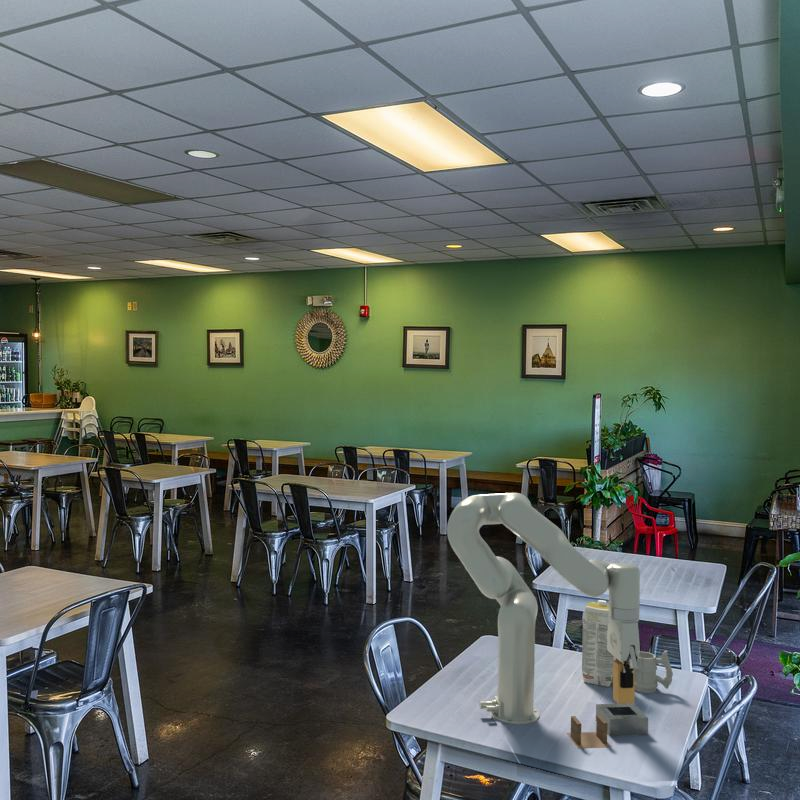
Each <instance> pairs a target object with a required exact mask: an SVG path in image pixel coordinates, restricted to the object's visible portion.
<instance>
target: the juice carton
mask: <svg viewBox="0 0 800 800" xmlns="http://www.w3.org/2000/svg"><path fill="white" fill-rule="evenodd" d="M608 621H609V604H607V601H606V600H602V599H599V600H597V602H594V601H590V602H589V603H587V604H586V605H584V611H583V616H582V647H581V648H582V650H581V652H582V653H581V671H582V679H583V682H584V683H587V684H592V685H597V686H601V687H606V688H609V687H610V686H611V685H613V660H614V657H613V655H612V654H611V653H609V652H608V650H607V630H608Z"/></svg>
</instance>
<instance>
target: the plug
mask: <svg viewBox="0 0 800 800" xmlns="http://www.w3.org/2000/svg"><path fill="white" fill-rule="evenodd" d="M627 664H629V663H625V665H627ZM620 672H622V662H620V661H619V660H613V683H612V688H613V689H612V690H613V691H612V699H613V701H615V703H616V704H626V703H633V704H635V698H636V695H635V692H636V691H635V669H634V673H633V688H621V687H620Z"/></svg>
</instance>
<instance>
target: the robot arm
mask: <svg viewBox="0 0 800 800" xmlns="http://www.w3.org/2000/svg"><path fill="white" fill-rule="evenodd" d="M501 524H502V525H503V526H504V527H505V528H507V529H508V530H509V531H511V532H512V533H513V534H514V535H516V536H517V537H518V538H519V539H520V540H522V541H523V542H524V543H526V544H527V545H528V546H529V547H530V548H532V549H533V550H534V551H536V552H537V553H538V555H540V556H541V558H542V559H543V560H544V561H545V562H546V563H548V565H550V566H551V567H552V568H553V569H554V570H555V571H556V572H557V573H558V574H559V575H560V576H562V578H564V580H565V581H567V582H568V583H569V584H571V585H572V586H573V587H575V588H576V589H577V590H578V591H579V592H581V593H582V594H584V595H586V596H589V597H594V598H595V597H600V596H601V595H604V594H605V593H606V592H607V590H608V605H609V621H608V630H607V650H608V652H609V653H611V654H612V655H613V657H614V660H619V661H620V662H622V672H620V687H621V688H633V673H634V669H635V668H637V662H636V661H638V660H639V651H640V632H639V621H640V612H641V610H640V605H641V604H640V601H641V599H640V596H641V595H640V594H641V593H640V591H641V590H640V588H641V587H640V585H641V583H640V579H641V573H640V568H639V567H638V566H637V565H636V564H634V563H630V562H629V563H628V562H616V563H615V562H609V561H605V560H599V559H587V558H586V557H585V556H584V555H583V554H582V553H580V552H579V551H578V550H577V549H576V548H575V547H574V546H573V545H572V544H571V542H570V541H569V539H568V538H567V536H566V535H565V533H564V532H563V530H562V529H561V528H559V526H557V525H556V524H555V523H553V522H552V521H551V520H549V519H548V518H547V517H545V515H543V514H542V513H541V512H540V511H538V510H537V509H536V508H534V507H533V506H532V503H531V501H530V500H529V498H528V497H527V496H525V495H524V494H523V493H519V492H505V493H488V494H487V493H486V494H473V495H470V496H467V497H466V498H464V499H463V500H461V501H460V502H458V504H457V505H456V506H455V507H454V509H453V510H452V512H451V513H450V515H449V519H448V521H447V526H446V535H447V540H448V542H449V545H450V547H451V549H452V550H453V552H454V553H455V555H456V557H458V560H459V561H460V562H461V563H462V565H463V567H464V568H465V570H466V572H467V573H468V574H469V576H470V577H471V579H472V580H473V581H474V584H475V585H476V587H477V588H478V589H479V591H480V592H481V594H483V595H484V596H485V597H487V598H488V599H491V600H496V602H497V603H498V604H499V606H500V608H499V610H498V615H497V634H498V636H497V637H498V638H497V639H498V641H497V643H498V647H497V651H498V652H497V695H494V698H493V699H490V700H488V701H487V700H480V701H478V702H479V709H481V710H482V709H483V710H484V709H485V710H486V713H487V712H488V713H489V712H490V714H491V717H492V718H493V719H494V720H495V721H497V720H498V721H499V722H503V723H506V724H510V725H521V726H522V725H529V724H533V723H535V722H537V721H538V720H539V719H540V712H539V711H538V710H537V709H536V708H535V707H534V705H535V702H534V700H535V699H534V698H535V662H536V661H535V659H536V657H535V653H536V652H535V648H536V647H535V646H536V641H535V640H536V638H535V637H536V631H535V630H536V621H537V615H538V611H539V608H538V607H539V606H538V601H537V598H536V596H535V595H534V593H533V591H532V590H531V589H530V587H529V586H528V584H527V583H526V582H525V580H524V579H523V577H522V576H521V575H520V573H519V571H518V570H517V568H516V567H515V566H514V565H513V563H512V562H510V560H508V559H506V558H504V557H503V556H498V555H497V556H496V555H495V553H494V552H493V550H492V549H491V547H490V546H489V545H488V543H487V542H486V541H485V540H484V539H483V537H482V536H481V534H480V529H481V528H482V526H484V525H485V526H486V525H501ZM625 663H629V664H627V665H625Z"/></svg>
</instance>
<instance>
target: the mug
mask: <svg viewBox="0 0 800 800" xmlns="http://www.w3.org/2000/svg"><path fill="white" fill-rule="evenodd" d="M669 659H670V658H669V657H668V650H664V651H663V652H662V654H661V656H660V657H656V655H655V654H653V653H651V652H649V651H640V650H639V660H638V661H636V662H637V668H635V692H638V693H643V694H654V693H655V692H656V691H657V688H658V683H660V684H661V685H662V686H663V687H664V688H665V689H669V687H670V685H672V682H673V675H674V673H673V669H672V665H671V662H670V660H669ZM657 663H660V664H662V665H663V667H664V668H665V670H666V671H665V672H666V673H665V676H663V677H661V676H660V675H657V670H658V665H657Z"/></svg>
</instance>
